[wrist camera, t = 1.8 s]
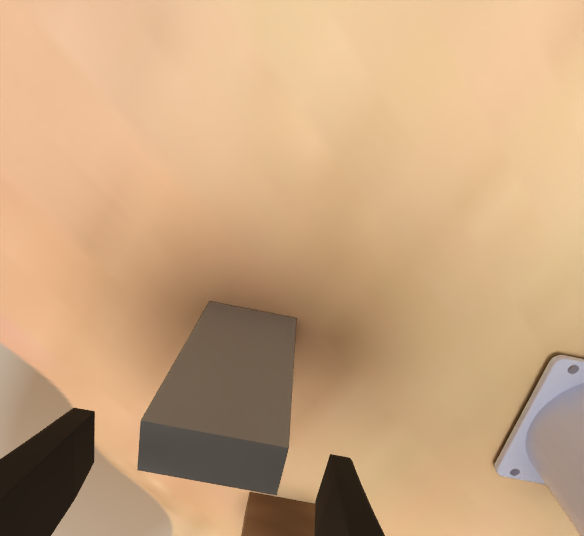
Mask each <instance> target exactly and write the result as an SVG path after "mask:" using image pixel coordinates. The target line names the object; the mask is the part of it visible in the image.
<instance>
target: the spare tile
mask: <svg viewBox="0 0 584 536" xmlns="http://www.w3.org/2000/svg"><path fill="white" fill-rule="evenodd" d="M295 335H296V318H293V317H288V316H283V315H278V314H273V313H267V312H262V311H257V310H252V309H247V308H242V307H237V306H232V305H227V304H222V303H217V302H212V301H209V303H208V305H207V307H206V308H205V310H204V312H203V313H202V315H201V317H200V319H199V320H198V322H197V324H196V326H195V327H194V329H193V331H192V333H191V334H190V336H189V338H188V339H187V341H186V343H185V345H184V346H183V348H182V350H181V352H180V353H179V355H178V357H177V359H176V360H175V362H174V364H173V365H172V367H171V369H170V371H169V372H168V374H167V376H166V378H165V379H164V381H163V383H162V385H161V386H160V388H159V390H158V391H157V393H156V395H155V397H154V398H153V400H152V402H151V404H150V405H149V407H148V409H147V411H146V412H145V414H144V416H143V418H142V419H141V425H140V440H139V455H138V470H140V471H145V472H151V473H157V474H162V475H168V476H173V477H179V478H184V479H190V480H195V481H201V482H206V483H212V484H217V485H223V486H228V487H234V488H239V489H245V490H251V491H256V492H262V493H267V494H273V495H277V491H278V488H279V484H280V480H281V476H282V472H283V468H284V464H285V461H286V457H287V453H288V449H289V436H290V419H291V402H292V385H293V368H294V352H295Z"/></svg>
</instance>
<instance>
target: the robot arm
mask: <svg viewBox="0 0 584 536" xmlns="http://www.w3.org/2000/svg"><path fill="white" fill-rule="evenodd" d="M572 365H573V366H572ZM570 366H572V367H571V368H569V367H570ZM568 368H569V369H568ZM94 421H95V411H89V410H84V409H78V408H73V409H71V410H70V411H69V412H67V413H66V414H65V415H63V416H61V417H60V418H59V419H57V420H56V421H54V422H53V423H52V424H50V425H49V426H47V427H46V428H45V429H43V430H42V431H40V432H39V433H38V434H36V435H35V436H33V437H32V438H31V439H29V440H28V441H26V442H25V443H23V444H22V445H20V446H19V447H18V448H16V449H15V450H13V451H12V452H10V453H9V454H7V455H6V456H4V457H3V458H1V459H0V536H51V535H52V533H53V532H54V530H55V528H56V527H57V525H58V524H59V522H60V521H61V519H62V518H63V516H64V515H65V513H66V512H67V510H68V509H69V507H70V506H71V504H72V502H73V501H74V499H75V498H76V496H77V494H78V492H79V490H80V488H81V486H82V484H83V483H84V481H85V479H86V477H87V475H88V473H89V471H90V469H91V467H92V465H93V463H94ZM494 468H495V470H496V472H497V473H498V474H499V475H500V476H503V477H509V478H514V479H519V480H525V481H530V482H536V483H541V484H546V486H547V487H548V488H549V490H550V491H551V493H552V494H553V496H554V497H555V499H556V500H557V502H558V503H559V505H560V506H561V508H562V509H563V511H564V512H565V514H566V515H567V517H568V518H569V520H570V521H571V522H572V524H573V525H574V527H575V528H576V530H577V531H578V533H579V534H580V536H584V359H581V358H576V357H571V356H566V355H558V356H555V357H553V358H552V359H551V360H550V361H549V363H548V365H547V367H546V369H545V371H544V372H543V374H542V376H541V378H540V380H539V382H538V384H537V386H536V387H535V389H534V391H533V393H532V395H531V397H530V399H529V401H528V402H527V404H526V406H525V408H524V410H523V412H522V414H521V416H520V417H519V419H518V421H517V423H516V425H515V427H514V429H513V431H512V432H511V434H510V436H509V438H508V440H507V442H506V444H505V445H504V447H503V449H502V451H501V453H500V455H499V457H498V459H497V460H496V462H495V465H494ZM315 536H385V535H384V533H383V531H382V529H381V527H380V525H379V522H378V520H377V518H376V516H375V514H374V512H373V510H372V508H371V505H370V503H369V501H368V499H367V496H366V494H365V492H364V489H363V487H362V485H361V482H360V480H359V477H358V475H357V472H356V470H355V467H354V465H353V462H352V460H351V459H350V458H348V457H343V456H337V455H332V454H330V457H329V460H328V463H327V466H326V469H325V473H324V476H323V479H322V482H321V485H320V489H319V492H318V495H317V498H316V503H315Z"/></svg>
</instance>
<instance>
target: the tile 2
mask: <svg viewBox="0 0 584 536" xmlns="http://www.w3.org/2000/svg"><path fill="white" fill-rule="evenodd" d="M241 536H315V504H312V503H307V502H301V501H296V500H290V499H285V498H279V497H273V496H268V495H262V494H257V493H251V492H250V493H249V498H248V502H247V507H246V511H245V516H244V523H243V529H242V535H241Z"/></svg>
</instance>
